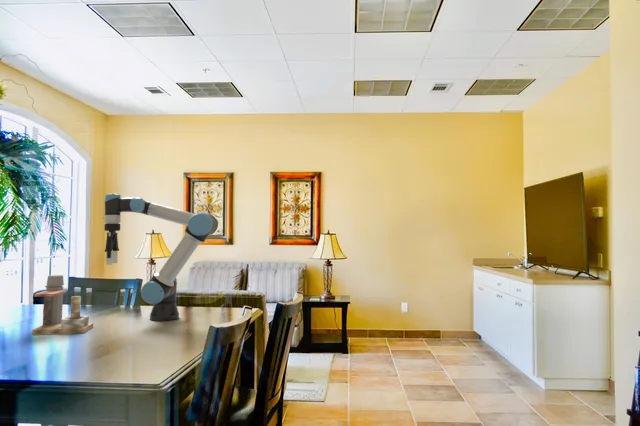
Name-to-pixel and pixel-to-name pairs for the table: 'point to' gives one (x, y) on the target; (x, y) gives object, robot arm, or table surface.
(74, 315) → the peg
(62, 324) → the socket station
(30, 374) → the table surface
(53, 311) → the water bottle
